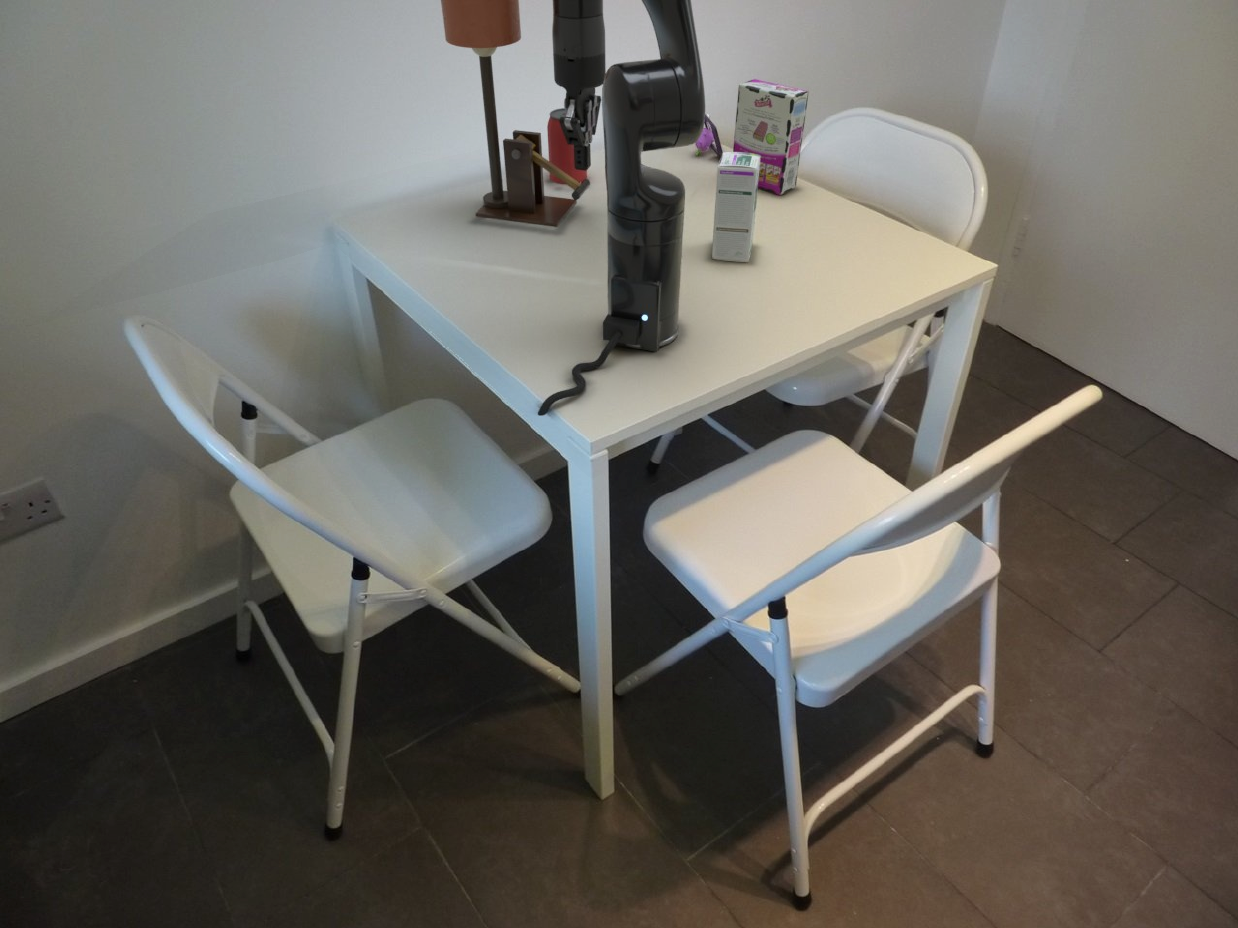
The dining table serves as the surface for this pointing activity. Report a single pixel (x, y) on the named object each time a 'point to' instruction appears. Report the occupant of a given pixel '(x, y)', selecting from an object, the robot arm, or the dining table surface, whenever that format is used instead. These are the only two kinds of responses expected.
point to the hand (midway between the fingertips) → (582, 168)
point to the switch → (559, 173)
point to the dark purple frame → (709, 138)
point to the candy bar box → (771, 131)
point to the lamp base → (527, 186)
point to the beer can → (561, 149)
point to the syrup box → (735, 206)
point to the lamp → (485, 63)
